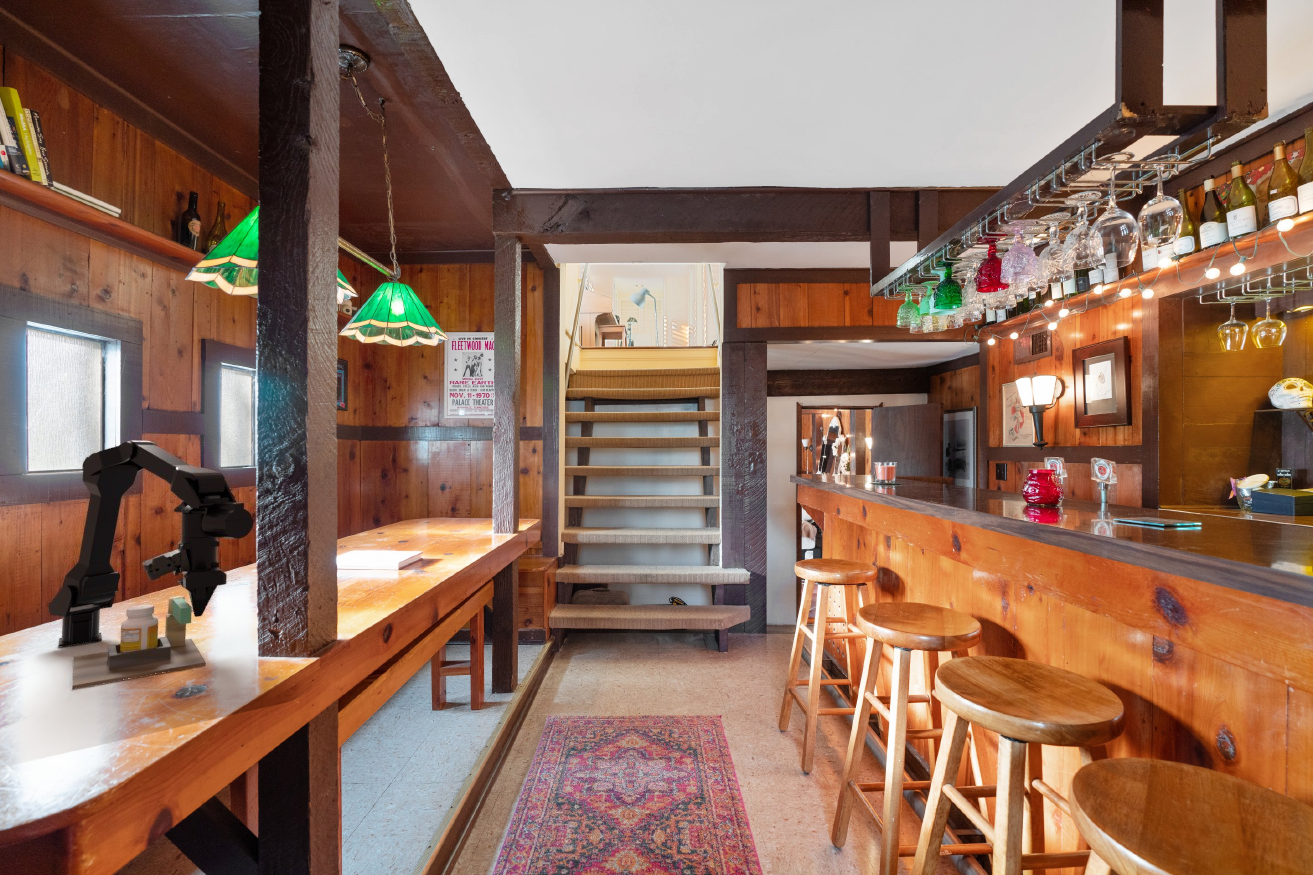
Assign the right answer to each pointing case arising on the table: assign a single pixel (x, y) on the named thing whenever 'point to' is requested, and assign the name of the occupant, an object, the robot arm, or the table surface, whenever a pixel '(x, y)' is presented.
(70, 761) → the table surface
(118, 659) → the bottle stand
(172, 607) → the keeper arm
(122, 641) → the supplement bottle
